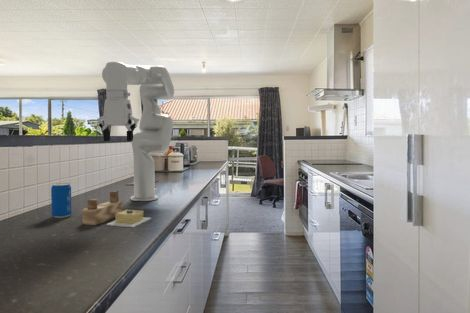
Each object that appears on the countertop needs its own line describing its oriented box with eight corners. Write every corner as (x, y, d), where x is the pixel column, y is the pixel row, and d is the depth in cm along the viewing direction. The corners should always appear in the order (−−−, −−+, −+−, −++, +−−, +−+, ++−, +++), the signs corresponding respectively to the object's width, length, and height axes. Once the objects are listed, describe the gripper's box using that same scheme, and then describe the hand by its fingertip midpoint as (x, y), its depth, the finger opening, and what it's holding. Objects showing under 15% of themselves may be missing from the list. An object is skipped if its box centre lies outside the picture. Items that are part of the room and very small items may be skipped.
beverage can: (63, 219, 119) (62, 185, 118) (47, 218, 120) (46, 184, 119) (75, 215, 125) (74, 183, 125) (60, 214, 126) (59, 182, 126)
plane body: (111, 213, 128) (111, 190, 127) (122, 214, 127) (122, 191, 126) (82, 224, 112) (82, 197, 112) (95, 225, 111) (94, 198, 111)
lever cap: (127, 217, 120) (127, 207, 120) (143, 219, 118) (143, 208, 118) (115, 222, 113) (115, 211, 113) (132, 223, 112) (132, 213, 111)
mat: (126, 217, 123) (126, 215, 123) (151, 218, 120) (151, 217, 120) (106, 225, 111) (106, 224, 111) (133, 227, 109) (133, 226, 109)
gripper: (142, 96, 129) (143, 140, 130) (102, 97, 132) (104, 140, 134) (132, 94, 121) (133, 142, 123) (90, 95, 125) (92, 141, 127)
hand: (118, 141), depth 129 cm, fingers open, 9 cm apart
